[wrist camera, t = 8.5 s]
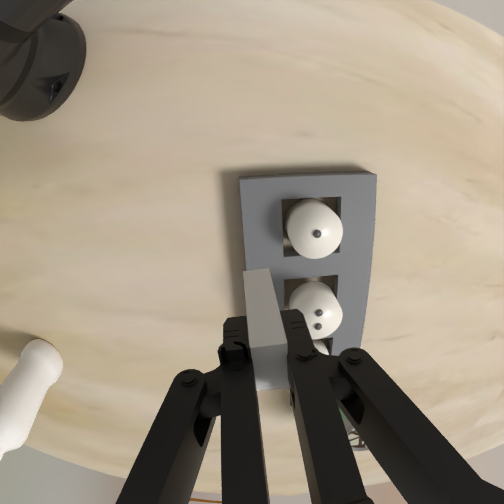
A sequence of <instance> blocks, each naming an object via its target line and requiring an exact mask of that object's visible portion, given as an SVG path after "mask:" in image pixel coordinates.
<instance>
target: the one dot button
mask: <svg viewBox="0 0 504 504" xmlns="http://www.w3.org/2000/svg"><path fill="white" fill-rule="evenodd" d="M285 230H286V232H287V235H288V237H289V239H290V241H291V243H292V246H293V247H294V249H295V250H296V251H297V252H298V253H299V254H300V255H302V256H304V257H306V258H310V259H319V258H323V257H326V256H328V255H329V254H331V253H332V252H333V251H334V250H335V249H336V248H337V247H338V246H339V244H340V242H341V239H342V235H343V227H342V223H341V221H340V219H339V217H338V216H337V215H336V214H335V213H334V212H333V211H332V210H331V209H330V208H329V207H328V206H327V205H325V204H324V203H323V202H321V201H319V200H316V199H304V200H301V201H299V202H297V203H295V204H294V205H293V206H292V207H291V208H290V209H289V211H288V213H287V215H286V218H285Z"/></svg>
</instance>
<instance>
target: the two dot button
mask: <svg viewBox="0 0 504 504" xmlns="http://www.w3.org/2000/svg"><path fill="white" fill-rule="evenodd" d="M290 309H298V310H299V311H300V312H302V313H303V315H304V318H305V321H306V323H307V327H308V329H309V332H310V335H311V338H312V339H320V338H324V337H326V336H328V335H330V334H332V333H333V332H334V331H335V330H336V329H337V328H338V327H339V325H340V323H341V321H342V317H343V313H342V309H341V307H340V305H339V303H338V301H337V299H336V297H335V296H334V294H333V292H332V290H331V289H330V287H329V286H327V285H326V284H324V283H322V282H317V281H312V282H307V283H304V284H302V285H300V286H299V287H297V288H296V289H295V290H294V291H293V293H292V294H291V296H290V298H289V310H290Z"/></svg>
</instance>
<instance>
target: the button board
mask: <svg viewBox="0 0 504 504" xmlns="http://www.w3.org/2000/svg"><path fill="white" fill-rule="evenodd" d="M239 183H240V197H241V210H242V223H243V235H244V248H245V261H246V271H248V270H257V269H265V268H269V271H270V275H271V279H272V283H273V287H274V291H275V295H276V299H277V303H278V307H279V311H283V310H285V309H284V280H286V279H297V278H308V277H319V276H329V275H334V281H333V294H334V296H335V297H336V299H337V301H338V303H339V305H340V307H341V309H342V313H343V317H342V321H341V323H340V325H339V327H338V328H337V329H336V330H335V331H334V332H333V333H332V334H330V335H328V336H326V337H324V338H329V345H328V353H329V355H335V356H339V355H340V353H341V352H342V351H343V350H345V349H347V348H352V347H353V348H360V346H361V340H362V334H363V327H364V321H365V314H366V307H367V299H368V291H369V283H370V274H371V264H372V253H373V242H374V228H375V210H376V185H377V175H376V174H374V173H371V172H336V173H304V174H283V175H266V176H251V177H239ZM317 197H336V215H337V216H338V217H339V219H340V221H341V223H342V227H343V235H342V239H341V242H340V244H339V246H338V247H337V248H336V249H335V250H334V251H333V252H332V253H331V254H329V255H328V256H326V257H323V258H319V259H310V258H306V257H304V256H302V255H300V254H299V253H298V252H297V251H296V250H286V251H283V228H282V201H281V199H298V198H317ZM320 339H323V338H320ZM312 340H315V339H312ZM285 388H290V386H289V387H285ZM278 389H281V388H278ZM270 390H271V389H270Z"/></svg>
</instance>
